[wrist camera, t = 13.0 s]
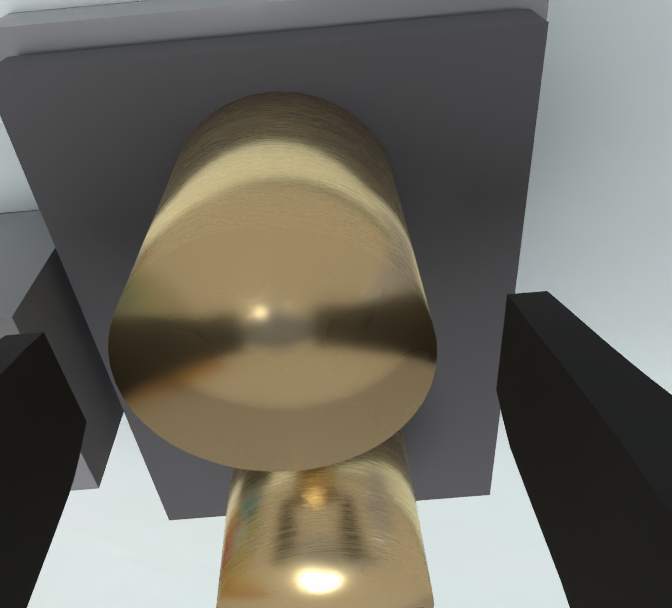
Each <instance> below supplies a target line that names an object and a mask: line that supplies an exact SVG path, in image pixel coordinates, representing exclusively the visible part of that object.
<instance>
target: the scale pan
mask: <svg viewBox="0 0 672 608" xmlns="http://www.w3.org/2000/svg"><path fill="white" fill-rule="evenodd" d="M547 29H548V21H546V20H545V19H544V18H542V17H541V16H540V15H538V14H537V13H535V12H534V11H533V10H531V9H521V10H510V11H499V12H488V13H477V14H466V15H455V16H445V17H434V18H423V19H412V20H401V21H390V22H379V23H369V24H358V25H347V26H336V27H325V28H314V29H303V30H293V31H282V32H271V33H260V34H249V35H238V36H227V37H217V38H206V39H195V40H184V41H173V42H162V43H152V44H141V45H130V46H119V47H108V48H97V49H86V50H76V51H65V52H54V53H43V54H32V55H21V56H10V57H6V58H5V59H3V60H2V61H1V62H0V116H1V118H2V121H3V123H4V125H5V128H6V130H7V133H8V135H9V137H10V140H11V142H12V145H13V147H14V149H15V152H16V154H17V157H18V159H19V161H20V164H21V166H22V168H23V171H24V173H25V176H26V178H27V180H28V183H29V185H30V188H31V190H32V192H33V195H34V197H35V200H36V202H37V204H38V207H39V209H40V212H41V214H42V216H43V219H44V221H45V224H46V226H47V228H48V231H49V233H50V236H51V238H52V240H53V243H54V245H55V248H56V250H57V252H58V255H59V257H60V260H61V262H62V264H63V267H64V269H65V272H66V274H67V276H68V279H69V281H70V283H71V286H72V288H73V291H74V293H75V295H76V298H77V300H78V303H79V305H80V307H81V310H82V312H83V315H84V317H85V319H86V322H87V324H88V327H89V329H90V331H91V334H92V336H93V339H94V341H95V343H96V346H97V348H98V351H99V353H100V355H101V358H102V360H103V363H104V365H105V367H106V370H107V372H108V375H109V377H110V379H111V382H112V384H113V387H114V389H115V391H116V394H117V396H118V398H119V401H120V403H121V406H122V408H123V410H124V413H125V415H126V418H127V420H128V422H129V425H130V427H131V430H132V432H133V434H134V437H135V439H136V442H137V444H138V446H139V449H140V451H141V454H142V456H143V458H144V461H145V463H146V466H147V468H148V470H149V473H150V475H151V478H152V480H153V482H154V485H155V487H156V490H157V492H158V494H159V497H160V499H161V502H162V504H163V506H164V509H165V511H166V513H167V516H168V518H169V520H179V519H191V518H204V517H216V516H226V512H227V503H228V493H229V484H230V474H231V467H230V466H225V465H221V464H217V463H214V462H211V461H208V460H204V459H202V458H199V457H197V456H195V455H192V454H190V453H187V452H185V451H184V450H182V449H180V448H178V447H176V446H174V445H172V444H171V443H169V442H168V441H166V440H165V439H163V438H162V437H160V436H159V435H157V434H156V433H155V432H153V431H152V430H151V429H150V428H149V427H148V426H146V425H145V424H144V423H143V422H142V421H141V420H140V419H139V418H138V417H137V415H136V414H135V413H134V412H133V411H132V410H131V408H130V407H129V406H128V404H127V403H126V401H125V400H124V398H123V397H122V395H121V393H120V391H119V389H118V387H117V385H116V383H115V381H114V377H113V374H112V371H111V368H110V362H109V355H108V338H109V330H110V326H111V322H112V318H113V315H114V313H115V310H116V308H117V305H118V303H119V300H120V298H121V296H122V293H123V291H124V288H125V286H126V283H127V281H128V279H129V276H130V274H131V271H132V269H133V266H134V264H135V262H136V259H137V257H138V254H139V252H140V249H141V247H142V244H143V242H144V240H145V237H146V235H147V232H148V230H149V227H150V225H151V223H152V220H153V218H154V215H155V213H156V210H157V208H158V206H159V203H160V201H161V198H162V196H163V193H164V191H165V188H166V186H167V184H168V181H169V179H170V176H171V174H172V171H173V169H174V167H175V164H176V162H177V159H178V157H179V155H180V152H181V150H182V148H183V146H184V144H185V142H186V141H187V139H188V138H189V136H190V135H191V133H192V132H193V131H194V130H195V129H196V127H197V126H198V125H199V124H200V123H201V122H202V121H203V120H204V119H206V118H207V117H208V116H209V115H210V114H211V113H213V112H214V111H216V110H218V109H219V108H221V107H222V106H224V105H226V104H228V103H230V102H232V101H235V100H237V99H239V98H243V97H246V96H249V95H253V94H258V93H264V92H277V91H288V92H297V93H304V94H308V95H312V96H316V97H319V98H322V99H325V100H327V101H330V102H332V103H334V104H336V105H338V106H340V107H341V108H343V109H345V110H347V111H348V112H350V113H351V114H352V115H354V116H355V117H356V118H358V119H359V120H360V121H361V122H362V123H363V124H364V125H365V126H366V127H367V128H368V129H369V130H370V131H371V132H372V133H373V135H374V136H375V137H376V139H377V140H378V141H379V143H380V144H381V146H382V148H383V150H384V151H385V153H386V155H387V158H388V160H389V163H390V165H391V168H392V172H393V176H394V180H395V183H396V187H397V191H398V195H399V199H400V202H401V206H402V210H403V214H404V217H405V221H406V225H407V229H408V232H409V236H410V240H411V244H412V247H413V251H414V255H415V259H416V263H417V266H418V270H419V274H420V278H421V281H422V285H423V289H424V293H425V296H426V300H427V304H428V308H429V311H430V315H431V319H432V323H433V327H434V331H435V336H436V340H437V363H436V371H435V374H434V378H433V381H432V384H431V387H430V389H429V391H428V393H427V396H426V398H425V400H424V401H423V403H422V404H421V406H420V407H419V409H418V410H417V412H416V413H415V414H414V415H413V416H412V418H411V419H410V420H409V421H408V422H407V423H406V424H405V425H404V426H403V427H402V430H403V435H404V440H405V446H406V451H407V457H408V462H409V468H410V473H411V479H412V484H413V490H414V495H415V501H417V500H430V499H443V498H455V497H468V496H480V495H490V488H491V480H492V472H493V464H494V456H495V448H496V440H497V432H498V424H499V416H500V404H499V400H498V395H497V391H496V386H497V378H498V369H499V360H500V351H501V343H502V334H503V325H504V317H505V308H506V299H507V294H515V287H516V279H517V271H518V263H519V255H520V247H521V239H522V231H523V223H524V215H525V207H526V198H527V190H528V182H529V174H530V166H531V158H532V150H533V142H534V134H535V126H536V118H537V110H538V102H539V94H540V86H541V78H542V70H543V62H544V54H545V46H546V38H547Z"/></svg>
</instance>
